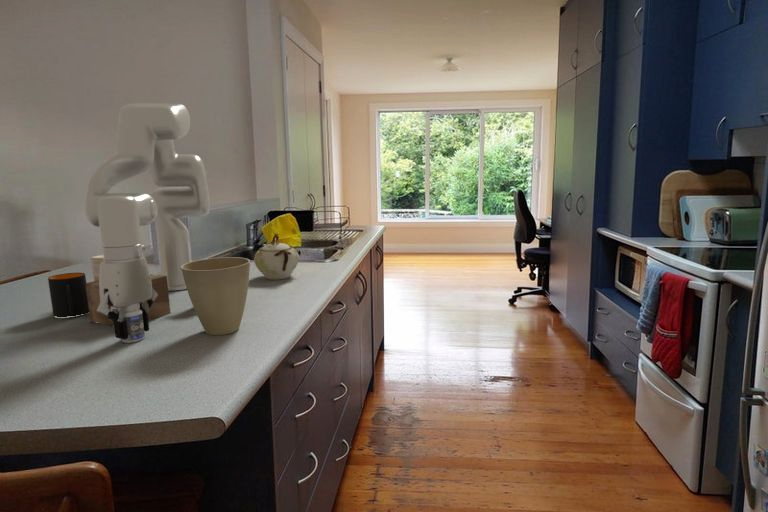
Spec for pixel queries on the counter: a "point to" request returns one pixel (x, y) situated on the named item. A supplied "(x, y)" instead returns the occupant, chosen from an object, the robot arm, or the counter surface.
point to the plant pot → (218, 292)
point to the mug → (68, 294)
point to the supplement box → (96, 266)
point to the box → (92, 288)
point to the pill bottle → (134, 323)
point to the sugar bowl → (276, 260)
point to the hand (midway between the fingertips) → (132, 333)
